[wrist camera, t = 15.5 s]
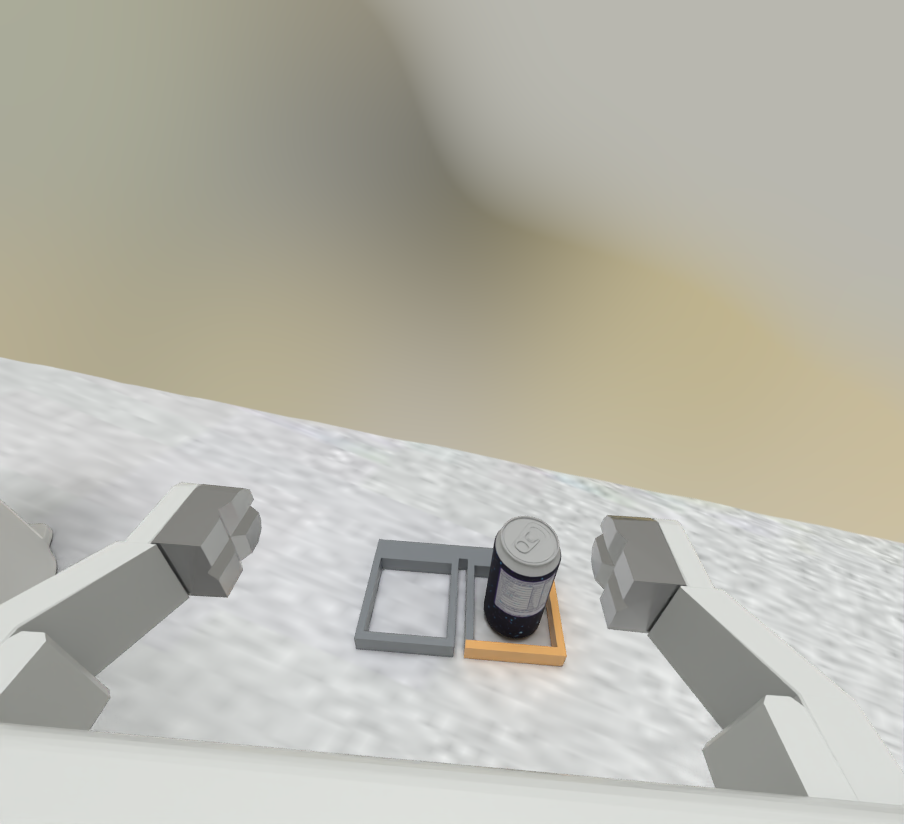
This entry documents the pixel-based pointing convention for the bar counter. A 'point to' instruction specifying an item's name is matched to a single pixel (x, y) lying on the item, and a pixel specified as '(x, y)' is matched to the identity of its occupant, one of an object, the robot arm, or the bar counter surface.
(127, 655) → the bar counter surface
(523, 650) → the divided rectangular frame
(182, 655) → the bar counter surface
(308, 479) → the bar counter surface
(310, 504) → the bar counter surface
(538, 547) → the beverage can
